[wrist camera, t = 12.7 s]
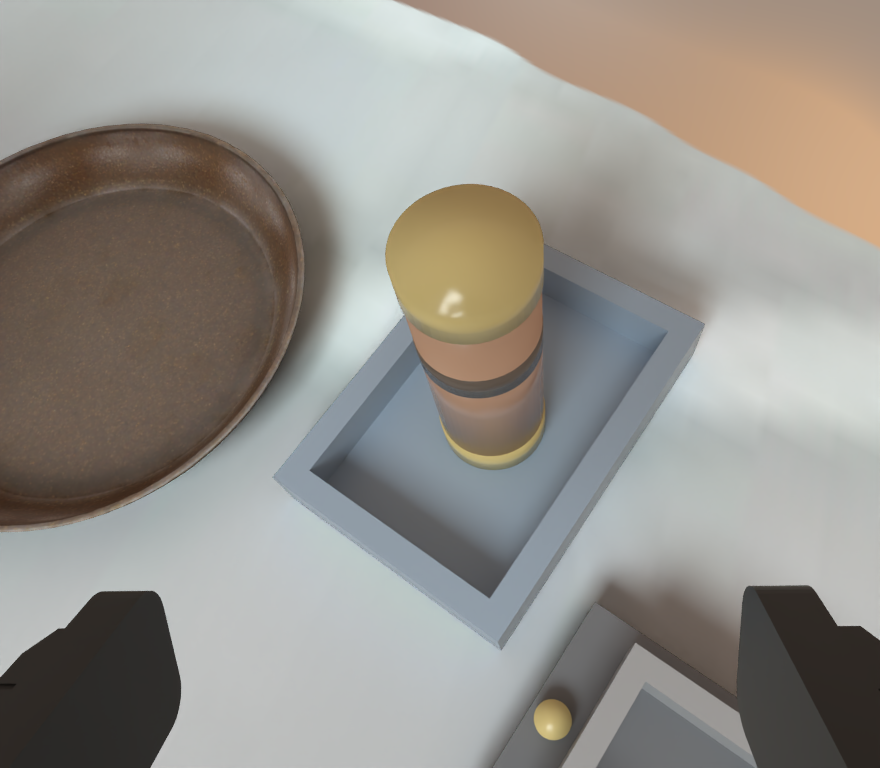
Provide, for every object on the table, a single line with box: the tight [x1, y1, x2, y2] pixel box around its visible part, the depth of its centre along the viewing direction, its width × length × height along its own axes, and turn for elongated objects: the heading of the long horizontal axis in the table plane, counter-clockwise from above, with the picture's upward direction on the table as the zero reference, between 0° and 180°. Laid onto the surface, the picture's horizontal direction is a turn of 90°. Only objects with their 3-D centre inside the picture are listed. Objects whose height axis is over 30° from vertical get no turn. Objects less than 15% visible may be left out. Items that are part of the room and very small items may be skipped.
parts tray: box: [272, 244, 705, 650], centre depth 29 cm, size 10×14×3 cm
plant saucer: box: [0, 124, 305, 532], centre depth 34 cm, size 21×21×3 cm
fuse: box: [385, 184, 545, 470], centre depth 25 cm, size 4×4×12 cm
